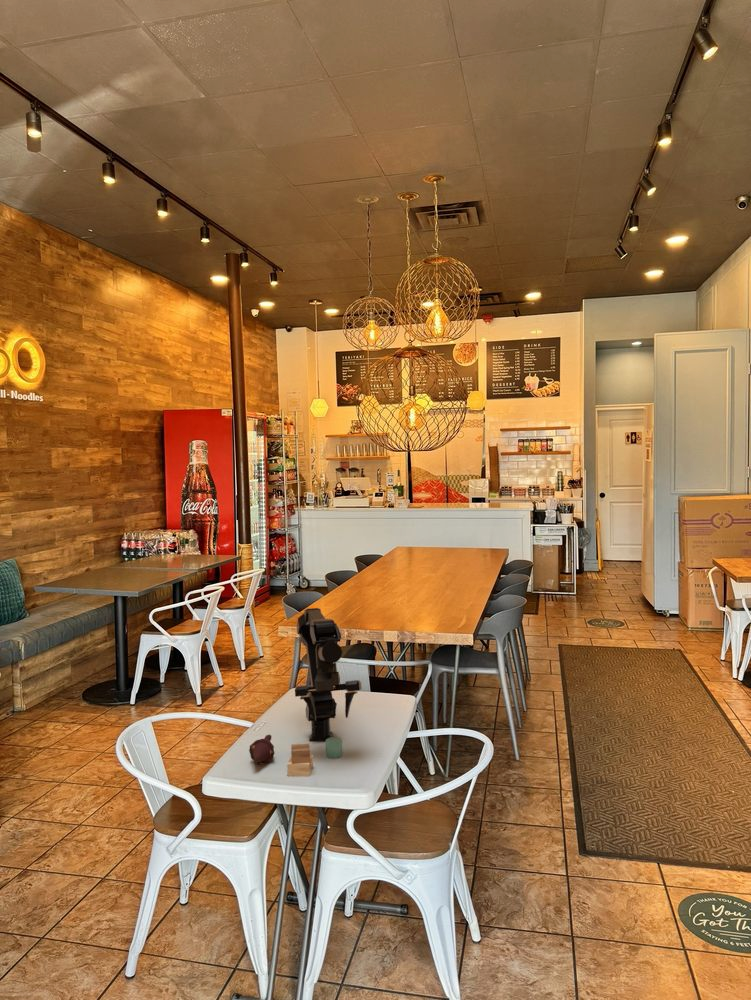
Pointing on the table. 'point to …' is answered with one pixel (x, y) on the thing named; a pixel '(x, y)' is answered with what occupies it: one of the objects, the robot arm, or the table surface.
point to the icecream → (262, 750)
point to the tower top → (300, 753)
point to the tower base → (299, 768)
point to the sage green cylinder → (334, 747)
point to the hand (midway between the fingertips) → (330, 719)
